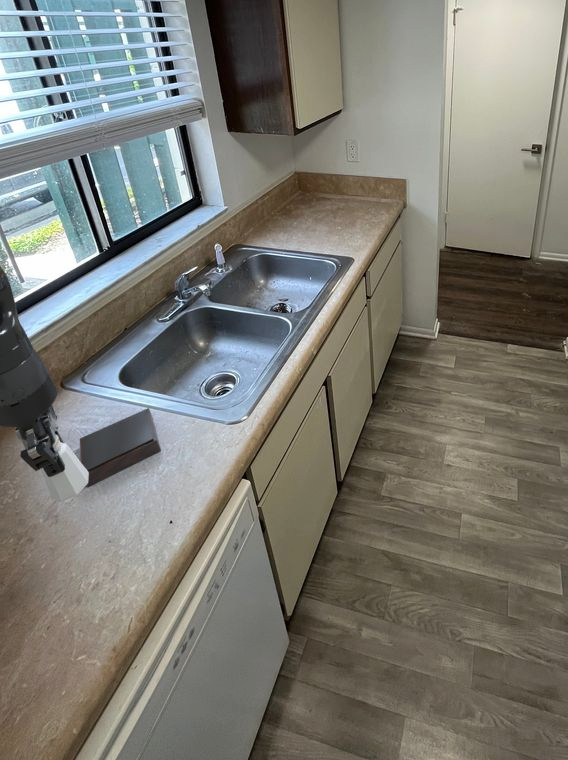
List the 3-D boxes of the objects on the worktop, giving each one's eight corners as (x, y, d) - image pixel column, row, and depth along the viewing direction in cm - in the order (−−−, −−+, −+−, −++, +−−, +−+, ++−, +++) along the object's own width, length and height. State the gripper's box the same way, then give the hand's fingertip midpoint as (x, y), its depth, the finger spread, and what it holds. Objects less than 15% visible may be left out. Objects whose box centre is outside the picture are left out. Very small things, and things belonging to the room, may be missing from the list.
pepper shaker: (43, 504, 70) (16, 459, 65) (62, 472, 75) (38, 428, 70) (80, 499, 70) (55, 454, 66) (96, 468, 75) (74, 424, 70)
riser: (87, 487, 91) (81, 475, 90) (84, 449, 99) (78, 437, 98) (161, 451, 99) (156, 439, 97) (152, 418, 107) (148, 406, 105)
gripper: (-14, 365, 65) (30, 441, 73) (-28, 432, 55) (25, 513, 63) (47, 344, 69) (83, 419, 77) (45, 404, 59) (87, 483, 67)
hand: (57, 461), depth 70 cm, fingers closed on pepper shaker, 3 cm apart
